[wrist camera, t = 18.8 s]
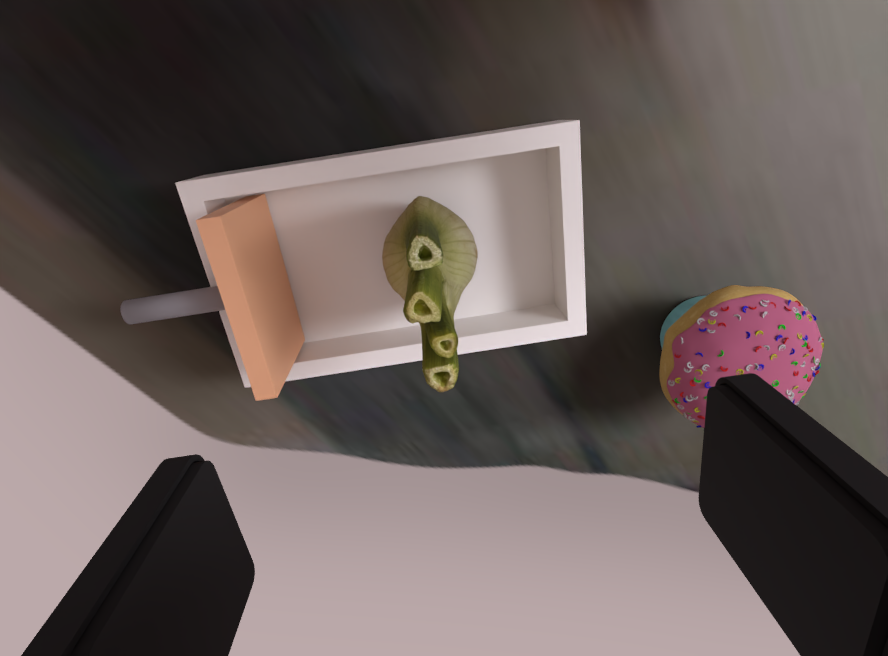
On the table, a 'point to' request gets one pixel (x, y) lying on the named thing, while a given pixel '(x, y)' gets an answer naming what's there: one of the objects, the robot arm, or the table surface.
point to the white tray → (375, 212)
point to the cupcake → (737, 345)
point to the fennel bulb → (431, 280)
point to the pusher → (241, 293)
